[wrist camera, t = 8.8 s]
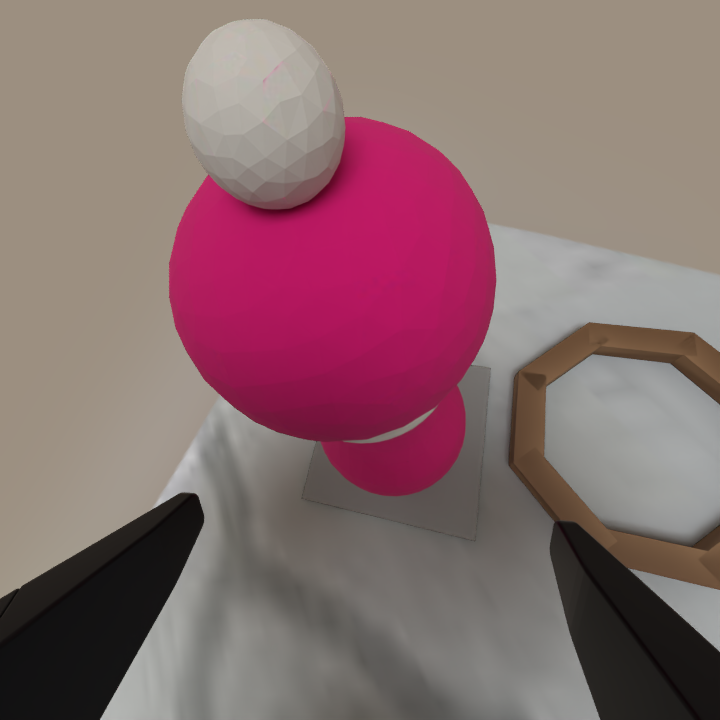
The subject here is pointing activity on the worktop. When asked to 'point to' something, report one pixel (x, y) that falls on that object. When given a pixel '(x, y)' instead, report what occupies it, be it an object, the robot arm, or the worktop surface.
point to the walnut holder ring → (690, 564)
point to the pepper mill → (327, 264)
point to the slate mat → (434, 504)
